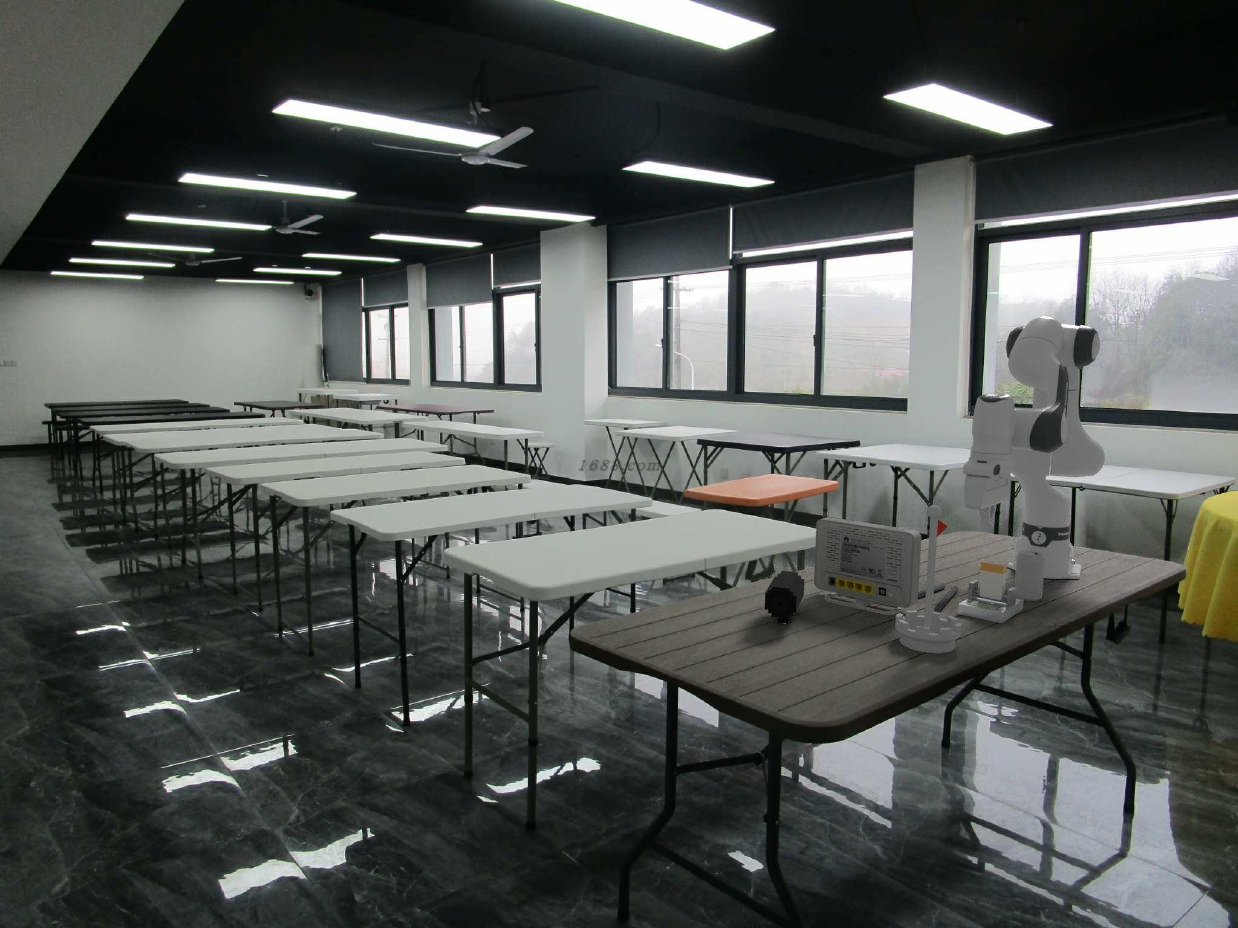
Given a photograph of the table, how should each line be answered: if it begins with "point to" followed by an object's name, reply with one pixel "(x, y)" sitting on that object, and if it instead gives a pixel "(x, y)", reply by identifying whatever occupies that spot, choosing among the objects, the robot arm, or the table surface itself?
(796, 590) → the security camera
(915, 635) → the flag stand
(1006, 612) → the breaker panel
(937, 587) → the cord
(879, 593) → the network device
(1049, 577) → the robot arm
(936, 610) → the dark grey rod
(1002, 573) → the breaker lever
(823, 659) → the table surface
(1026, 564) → the beverage can
